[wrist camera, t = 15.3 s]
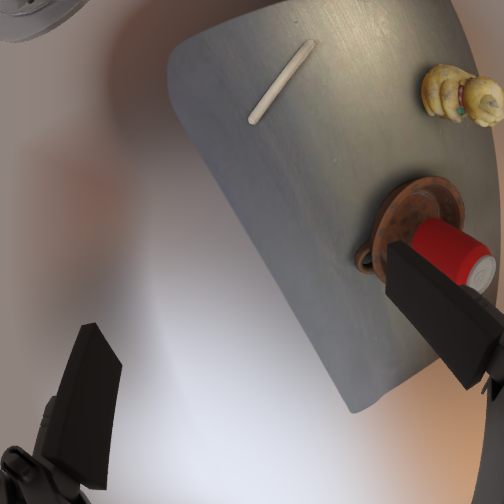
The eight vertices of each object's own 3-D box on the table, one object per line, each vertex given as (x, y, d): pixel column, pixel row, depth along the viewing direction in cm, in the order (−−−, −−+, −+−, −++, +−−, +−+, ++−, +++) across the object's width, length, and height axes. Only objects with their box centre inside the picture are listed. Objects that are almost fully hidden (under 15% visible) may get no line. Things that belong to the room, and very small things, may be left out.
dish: (330, 206, 39) (346, 219, 35) (444, 148, 38) (466, 154, 34) (361, 299, 47) (376, 316, 43) (457, 238, 46) (475, 250, 42)
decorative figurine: (421, 125, 36) (499, 142, 23) (401, 73, 33) (482, 70, 19) (458, 106, 36) (532, 119, 22) (442, 58, 32) (517, 57, 18)
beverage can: (439, 253, 40) (491, 293, 29) (406, 263, 39) (458, 308, 29) (444, 211, 37) (503, 245, 26) (410, 218, 37) (471, 257, 26)
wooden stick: (245, 120, 33) (246, 120, 32) (306, 39, 30) (310, 37, 28) (253, 126, 33) (255, 126, 32) (314, 45, 30) (317, 43, 29)
